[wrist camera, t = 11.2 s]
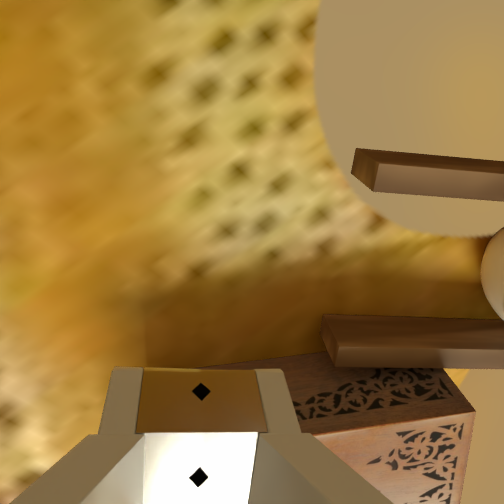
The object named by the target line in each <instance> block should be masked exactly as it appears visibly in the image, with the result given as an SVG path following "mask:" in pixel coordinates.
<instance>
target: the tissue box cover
mask: <svg viewBox="0 0 504 504" xmlns="http://www.w3.org/2000/svg"><path fill="white" fill-rule="evenodd" d="M192 369H200V370H254V369H281V370H282V371H283V373H284V376H285V379H286V383H287V386H288V389H289V393H290V396H291V399H292V403H293V406H294V409H295V413H296V416H297V419H298V423H299V426H300V429H301V433H310V434H312V435H313V436H314V437H315V438H316V439H317V440H319V441H320V442H321V443H322V444H323V445H325V446H326V447H327V448H328V449H329V450H331V451H332V452H333V453H334V454H335V455H337V456H338V457H339V458H340V459H341V460H343V461H344V462H345V463H346V464H347V465H348V466H350V467H351V468H352V469H353V470H354V471H356V472H357V473H358V474H359V475H360V476H362V477H363V478H364V479H365V480H366V481H368V482H369V483H370V484H371V485H372V486H373V487H375V488H376V489H377V490H378V491H379V492H381V493H382V494H383V495H384V496H385V497H387V498H388V499H389V500H390V501H391V502H393V503H394V504H460V500H461V494H462V489H463V483H464V477H465V472H466V466H467V460H468V454H469V449H470V443H471V437H472V432H473V426H474V420H475V414H476V411H475V409H474V408H473V407H472V406H471V404H470V403H469V402H468V400H467V399H466V398H465V397H464V395H463V394H462V393H461V392H460V390H459V389H458V387H457V386H456V385H455V384H454V382H453V381H452V380H451V378H450V377H449V376H448V375H447V373H446V372H445V371H444V369H443V368H383V367H335V366H334V364H333V362H332V359H331V357H330V355H329V353H328V351H327V352H319V353H311V354H303V355H295V356H287V357H279V358H271V359H264V360H256V361H248V362H240V363H232V364H224V365H216V366H208V367H200V368H192Z"/></svg>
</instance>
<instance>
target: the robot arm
mask: <svg viewBox="0 0 504 504" xmlns="http://www.w3.org/2000/svg"><path fill="white" fill-rule="evenodd" d="M10 504H394V503H393V502H391V501H390V500H389V499H388V498H387V497H385V496H384V495H383V494H382V493H381V492H379V491H378V490H377V489H376V488H375V487H373V486H372V485H371V484H370V483H369V482H368V481H366V480H365V479H364V478H363V477H362V476H360V475H359V474H358V473H357V472H356V471H354V470H353V469H352V468H351V467H350V466H348V465H347V464H346V463H345V462H344V461H343V460H341V459H340V458H339V457H338V456H337V455H335V454H334V453H333V452H332V451H331V450H329V449H328V448H327V447H326V446H325V445H323V444H322V443H321V442H320V441H319V440H317V439H316V438H315V437H314V436H313V435H312V434H310V433H301V429H300V426H299V423H298V419H297V416H296V413H295V409H294V406H293V403H292V399H291V396H290V393H289V389H288V386H287V383H286V379H285V376H284V373H283V371H282V370H281V369H254V370H200V369H184V368H156V367H144V368H142V367H114V369H113V370H112V373H111V377H110V382H109V386H108V391H107V395H106V400H105V404H104V409H103V413H102V418H101V422H100V427H99V431H98V435H88V436H86V437H85V438H84V439H83V440H82V441H81V442H80V443H78V444H77V445H76V446H75V447H74V448H73V449H71V450H70V451H69V452H68V453H67V454H66V455H65V456H63V457H62V458H61V459H60V460H59V461H58V462H57V463H55V464H54V465H53V466H52V467H51V468H50V469H49V470H47V471H46V472H45V473H44V474H43V475H42V476H41V477H39V478H38V479H37V480H36V481H35V482H34V483H33V484H31V485H30V486H29V487H28V488H27V489H26V490H25V491H23V492H22V493H21V494H20V495H19V496H18V497H17V498H15V499H14V500H13V501H12V502H11V503H10Z"/></svg>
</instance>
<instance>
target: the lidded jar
mask: <svg viewBox="0 0 504 504" xmlns="http://www.w3.org/2000/svg"><path fill="white" fill-rule="evenodd" d="M481 283H482V287H483V290H484V293H485V296H486V298H487V299H488V301H489V303H490V304H491V306H492V308H493V309H494V310H495V312H496V313H497V314H498V315H499V317H500V318H501V319H502V320H503V321H504V227H503V228H502V229H500V230H499V231H498V232H497V233H496V234H495V235H494V236H493V237H492V238H491V240H490V241H489V243H488V245H487V247H486V249H485V252H484V256H483V259H482V263H481Z"/></svg>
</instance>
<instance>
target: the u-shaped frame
mask: <svg viewBox="0 0 504 504" xmlns="http://www.w3.org/2000/svg"><path fill="white" fill-rule="evenodd" d="M351 174H352V175H354V176H355V177H356V178H357V179H359V180H360V181H361V182H362V183H363V184H365V185H366V186H367V187H368V188H369V189H371V190H372V191H373V192H385V193H398V194H412V195H425V196H438V197H451V198H465V199H478V200H492V201H504V161H493V160H481V159H471V158H459V157H449V156H438V155H427V154H416V153H404V152H393V151H382V150H370V149H360V148H356V150H355V155H354V161H353V166H352V170H351ZM320 335H321V337H322V340H323V342H324V344H325V346H326V348H327V351H328V353H329V355H330V357H331V359H332V362H333V364H334V366H335V367H383V368H456V369H504V321H503V320H491V319H460V318H429V317H397V316H366V315H334V314H323V318H322V323H321V328H320Z"/></svg>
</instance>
